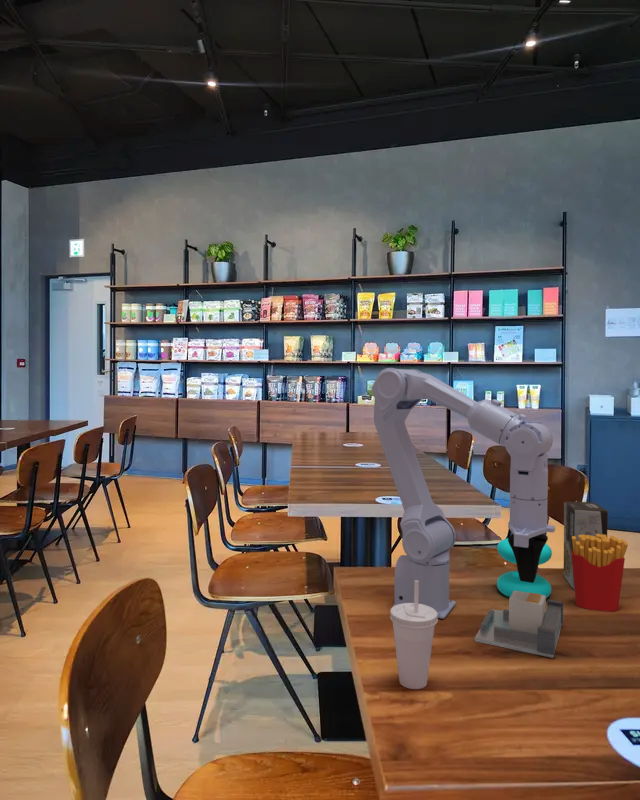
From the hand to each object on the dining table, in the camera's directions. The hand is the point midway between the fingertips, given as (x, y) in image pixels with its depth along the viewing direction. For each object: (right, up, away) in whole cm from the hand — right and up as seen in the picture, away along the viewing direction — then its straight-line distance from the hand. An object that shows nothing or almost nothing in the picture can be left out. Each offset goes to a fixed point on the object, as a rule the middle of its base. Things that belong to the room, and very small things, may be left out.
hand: (527, 580), depth 91 cm
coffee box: (+21, -9, +24) cm, 33 cm away
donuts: (+6, -9, +19) cm, 21 cm away
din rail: (-1, -9, +1) cm, 9 cm away
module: (0, -8, 0) cm, 8 cm away
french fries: (+18, -9, +12) cm, 23 cm away
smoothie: (-21, -9, -15) cm, 27 cm away
